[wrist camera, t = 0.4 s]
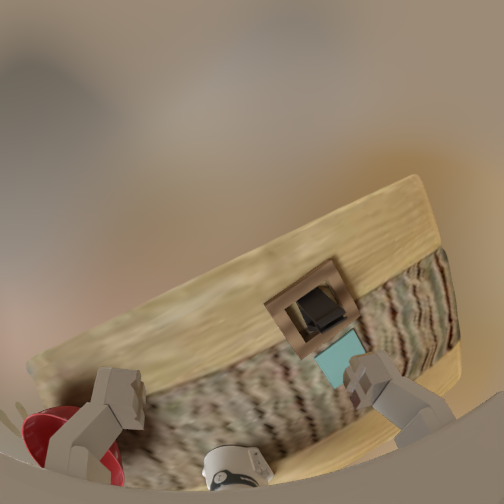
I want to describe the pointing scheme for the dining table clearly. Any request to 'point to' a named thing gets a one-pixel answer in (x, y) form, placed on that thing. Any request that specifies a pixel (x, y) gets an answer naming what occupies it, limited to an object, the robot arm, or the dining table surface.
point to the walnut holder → (298, 290)
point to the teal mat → (339, 357)
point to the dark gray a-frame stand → (320, 311)
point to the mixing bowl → (47, 424)
